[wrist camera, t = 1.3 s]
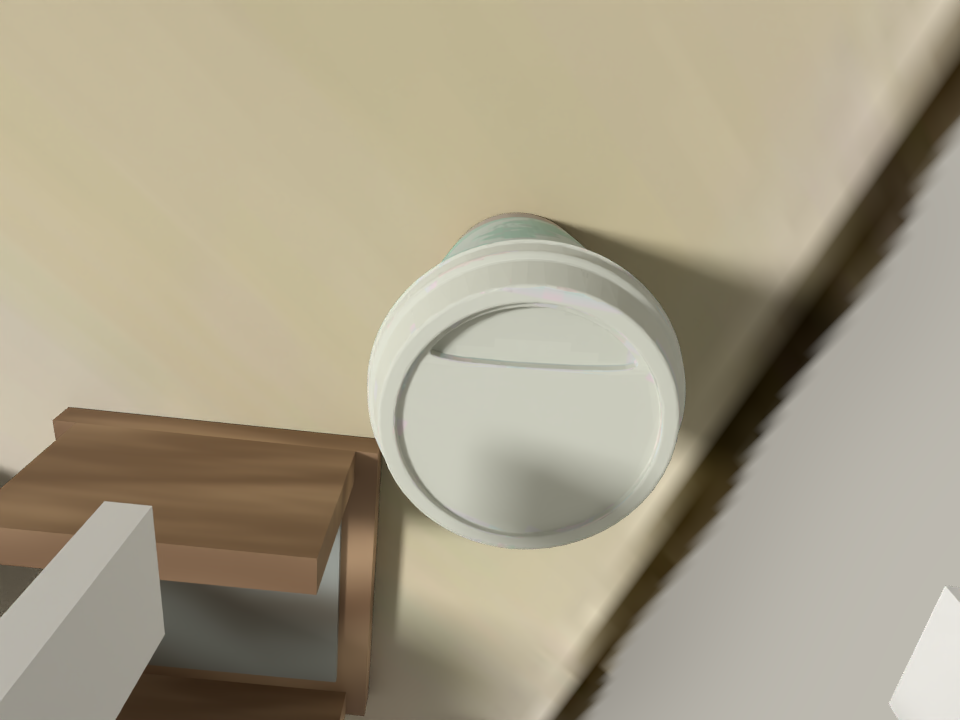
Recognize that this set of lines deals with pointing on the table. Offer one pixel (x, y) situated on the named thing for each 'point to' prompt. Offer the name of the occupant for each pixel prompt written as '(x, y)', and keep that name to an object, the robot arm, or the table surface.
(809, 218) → the table surface
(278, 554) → the holder
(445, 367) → the coffee cup
